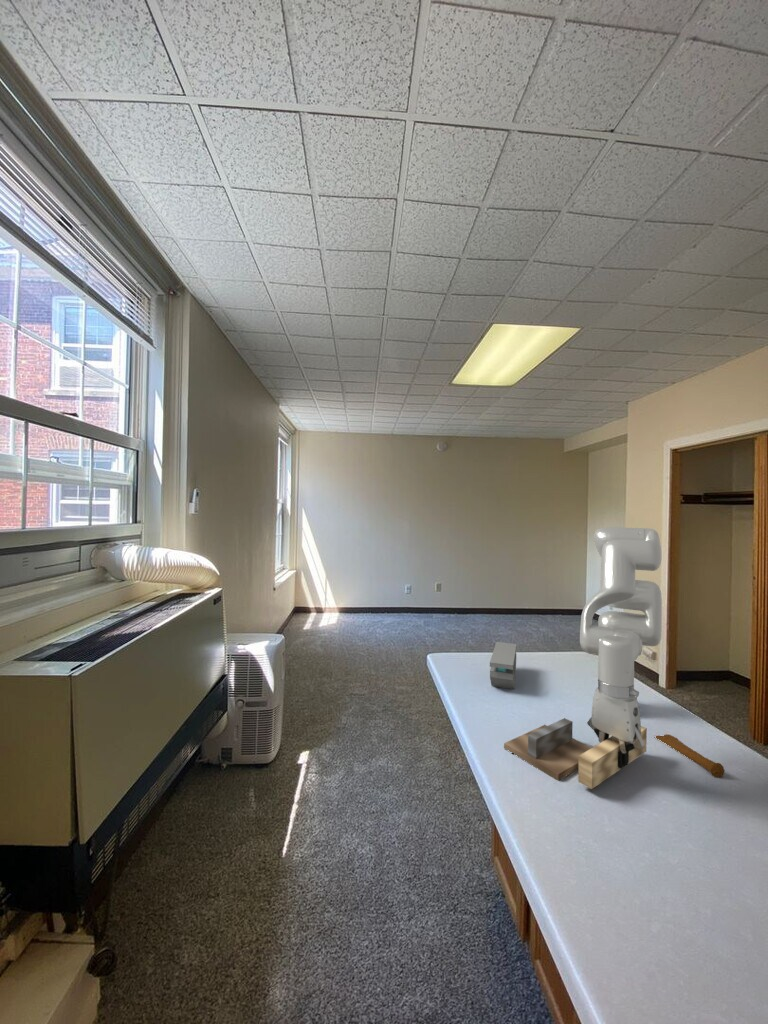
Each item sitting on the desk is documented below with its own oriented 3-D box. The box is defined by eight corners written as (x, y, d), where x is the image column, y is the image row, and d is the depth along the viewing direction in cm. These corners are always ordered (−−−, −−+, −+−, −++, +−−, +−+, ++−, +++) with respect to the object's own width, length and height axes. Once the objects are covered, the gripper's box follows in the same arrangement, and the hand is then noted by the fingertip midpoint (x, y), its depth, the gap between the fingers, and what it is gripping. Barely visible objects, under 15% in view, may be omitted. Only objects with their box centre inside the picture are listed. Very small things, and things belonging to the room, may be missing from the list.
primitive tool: (652, 737, 121) (652, 725, 121) (669, 736, 121) (669, 724, 121) (713, 780, 102) (713, 765, 102) (733, 779, 102) (733, 764, 102)
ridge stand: (544, 729, 123) (545, 707, 123) (598, 756, 110) (599, 731, 110) (504, 748, 113) (504, 724, 113) (558, 780, 100) (558, 753, 100)
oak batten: (633, 745, 112) (633, 723, 112) (646, 751, 110) (646, 728, 109) (578, 781, 98) (578, 755, 97) (591, 789, 95) (592, 762, 95)
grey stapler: (496, 668, 171) (496, 641, 171) (516, 671, 169) (516, 644, 169) (489, 693, 148) (489, 662, 148) (512, 696, 145) (513, 665, 145)
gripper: (659, 697, 98) (658, 774, 99) (591, 673, 112) (590, 741, 112) (644, 705, 94) (642, 786, 95) (575, 680, 108) (574, 751, 108)
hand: (614, 761), depth 104 cm, fingers closed on oak batten, 3 cm apart
